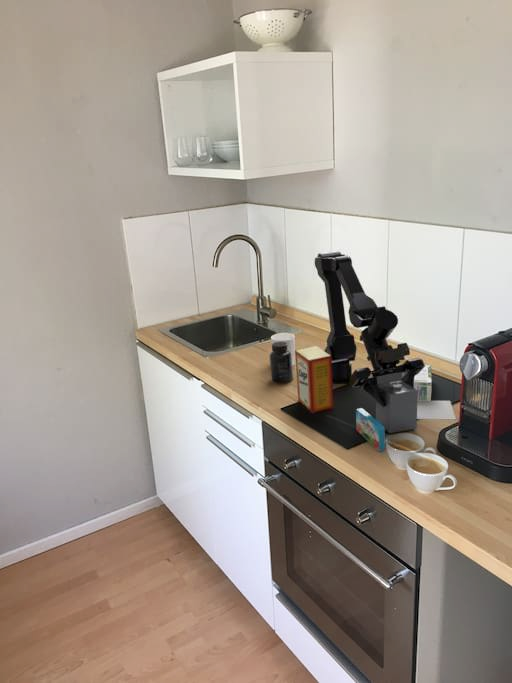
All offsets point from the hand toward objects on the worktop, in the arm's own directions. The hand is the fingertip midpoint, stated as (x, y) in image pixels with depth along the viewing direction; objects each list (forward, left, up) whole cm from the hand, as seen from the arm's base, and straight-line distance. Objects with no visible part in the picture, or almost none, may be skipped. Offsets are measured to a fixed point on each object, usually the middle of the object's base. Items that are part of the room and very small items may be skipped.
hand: (398, 403), depth 142 cm
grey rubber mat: (+9, +11, -7) cm, 16 cm away
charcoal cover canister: (-1, +1, -6) cm, 6 cm away
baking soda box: (-22, +15, -8) cm, 28 cm away
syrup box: (+8, +30, -5) cm, 32 cm away
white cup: (-35, +46, -8) cm, 58 cm away
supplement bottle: (-34, +33, -8) cm, 48 cm away
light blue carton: (-7, -5, -8) cm, 12 cm away
